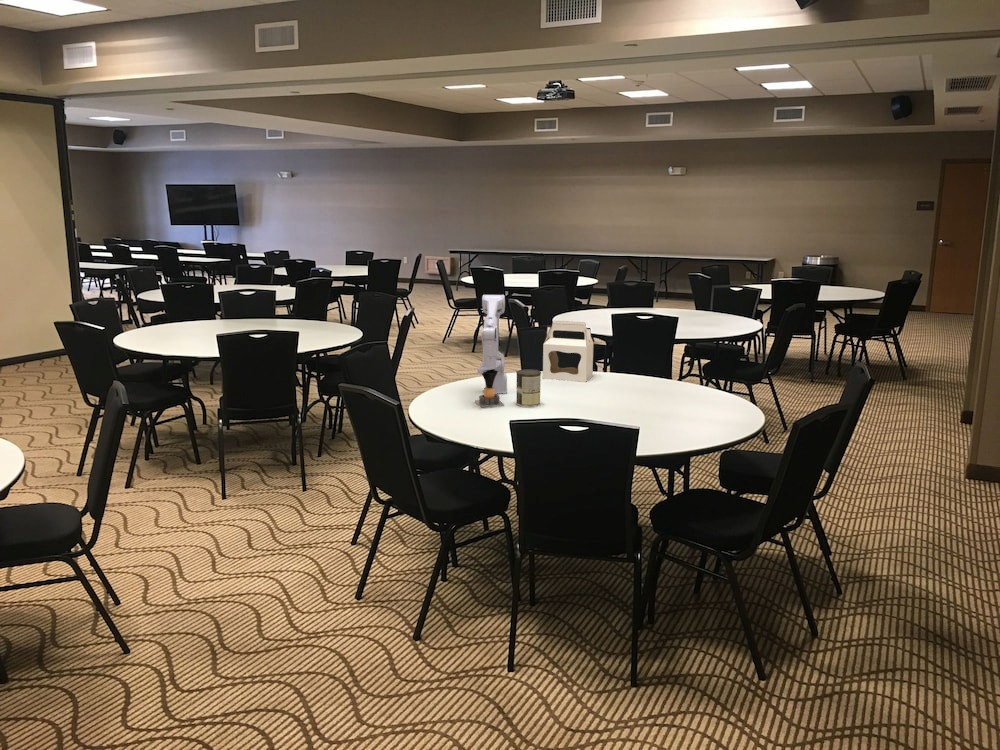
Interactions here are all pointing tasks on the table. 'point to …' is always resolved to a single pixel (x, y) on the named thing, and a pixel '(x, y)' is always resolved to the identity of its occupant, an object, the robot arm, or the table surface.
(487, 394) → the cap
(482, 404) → the dark grey low piece
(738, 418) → the table surface
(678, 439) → the table surface
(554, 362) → the gable box
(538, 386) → the coffee can
